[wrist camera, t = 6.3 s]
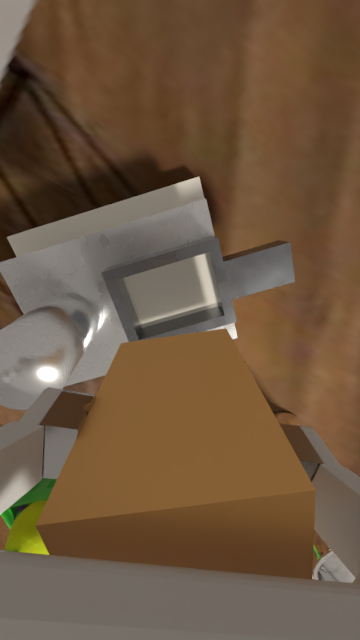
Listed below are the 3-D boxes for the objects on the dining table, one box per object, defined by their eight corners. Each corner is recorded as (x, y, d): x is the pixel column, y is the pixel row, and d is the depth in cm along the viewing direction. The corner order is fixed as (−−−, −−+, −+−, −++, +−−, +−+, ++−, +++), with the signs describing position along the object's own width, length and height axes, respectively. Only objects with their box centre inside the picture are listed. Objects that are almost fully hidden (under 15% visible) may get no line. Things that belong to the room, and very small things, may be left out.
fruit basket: (40, 507, 38) (-8, 618, 27) (13, 464, 35) (-53, 570, 24) (116, 491, 37) (96, 597, 27) (95, 446, 34) (64, 546, 24)
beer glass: (242, 428, 34) (295, 569, 20) (286, 399, 33) (374, 528, 19) (270, 456, 37) (336, 602, 23) (312, 430, 35) (410, 567, 21)
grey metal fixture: (76, 365, 28) (13, 466, 16) (22, 257, 24) (-115, 289, 12) (271, 309, 27) (353, 375, 15) (251, 186, 23) (342, 147, 11)
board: (83, 373, 30) (79, 381, 29) (15, 236, 25) (6, 236, 23) (232, 331, 29) (235, 337, 28) (197, 179, 24) (199, 176, 22)
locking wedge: (133, 396, 13) (80, 619, 6) (120, 343, 12) (35, 525, 5) (231, 383, 13) (311, 592, 5) (226, 328, 12) (315, 490, 4)
